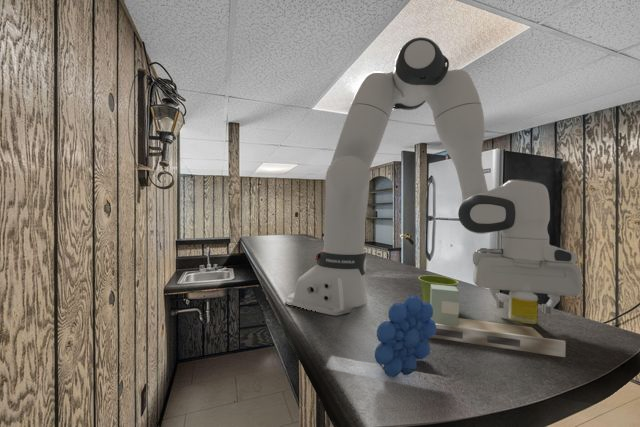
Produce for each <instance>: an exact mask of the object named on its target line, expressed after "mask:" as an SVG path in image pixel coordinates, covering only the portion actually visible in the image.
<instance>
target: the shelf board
mask: <svg viewBox="0 0 640 427" xmlns="http://www.w3.org/2000/svg"><path fill="white" fill-rule="evenodd" d="M435 324H436V323H435ZM431 339H439V340H445V341H454V342H459V343H467V344H471V345H472V344H473V345H479V346H485V347H486V346H487V347H492V348H494V347H495V348H499V349H508V350H512V351H513V350H514V351H519V352H520V351H521V352H527V353H533V354H541V355H548V356H552V357H553V356H555V357H561V358H566V349H567V348H566V347H567V345H566V344H567V343H566V342H567V341H565V340H563V339H562V340H561V339H556V338H548V337H547V338H546V337H543V335H542V334H540V332H538V331H537V330H536V329H535V328H533V327H532V326H524V325H519V324H518V325H516V324H509V323H501V322H494V321H493V322H492V321H483V320H476V319H468V318H460V317H458V326H451V325H444V324H436V333H435V335H434V336H433V337H431Z"/></svg>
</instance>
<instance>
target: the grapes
mask: <svg viewBox="0 0 640 427" xmlns="http://www.w3.org/2000/svg"><path fill="white" fill-rule="evenodd" d="M432 316H433V308H432V306H431V304H430V303H428V302H423V300H421V298H420V297H419V296H418V295H409V296H408V297H407V298H406V299H405V300H404V303H403V302H395V303H394V304H392V305H391V306H390V307H389V310H388V318H389V321H388V320H385V321H383V322H381V323H380V324H379V325H378V327H377V329H376V337H377V340H378V342H380V343H379V344H378V345H377V346H376V347H375V350H374V358H375V359H374V360H375V361H376V363H377V364H379V365H380V366H383V371H384V374H385V375H386V376H387V377H389V378H395V377H397V376H398V375H400V374H402V375H406V376H407V375H411V374H413V373H414V372H415V370H417V367H418V360H423V359H426V358H427V357H428V356H429V355H430V353H431V344H430V343H429V341H428V339H432V337H433V336H434V335H435V333H436V324H435V322H434V321H433V320H432V319H431V317H432Z"/></svg>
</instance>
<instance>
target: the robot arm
mask: <svg viewBox="0 0 640 427" xmlns="http://www.w3.org/2000/svg"><path fill="white" fill-rule="evenodd" d="M449 62H450V61H449V59H448V57H446V56H445V55H444V54H443V52H442V49H441V48H440V46H439V45H438V44H437V43H436V42H435V41H433V40H432V39H430V38H428V37H423V36H422V37H421V36H420V37H415V38H413V39H410V40H408V41H407V42H405V44H404V45H403V46H401V48H400V50H399V52H398V54H397V55H396V58H395V62H394V69H393V70H394V71H390V72H387V73H386V72H383V71H372V72H370V73H368V74H366V75H365V77H364V78H363V80H362V81H361V83H360V85H359V87H358V88H357V91H356V93H355V94H354V96H353V99H352V102H351V104H350V107H349V110H348V112H347V116H346V118H345V121H344V124H343V126H342V129H341V132H340V135H339V139H338V141H337V144H336V148H335V150H334V153H333V156H332V159H331V162H330V165H329V166H328V168H327V170H326V175H325V180H324V181H325V182H324V186H325V195H324V196H325V197H324V199H325V200H324V219H323V220H324V224H323V227H324V228H323V250H321V251H319V253H317V254H316V255H315V258H314V260H316V264H315V265H314V266H312V267H311V268H310V269H309V270H307V271H306V272H305V273H304V274H302V275H301V276H299V278H298V279H297V281H296V284H295V287H294V292H291V293H290V294H289V295H288V296H287V297H286V299H285V304H286V303H288V304H291V305H294V306H297V307H301V308H300V309H302V308H304V309H303V310H306V309H307V311H311V310H312V311H311V312H315V311H316V313H321V314H325V315H329V316H337V317H338V316H341V315H344V314H350V313H351V312H352V310H353V308H357V307H362V306H364V305H366V304H368V302H369V300H368V299H369V298H368V294H367V288H366V279H365V278H366V277H365V275H366V272H367V257H366V256H367V254H366V252H365V240H366V238H365V234H366V218H367V210H368V203H369V196H370V195H369V192H370V182H371V181H370V179H371V173H370V169H371V166H372V164H373V162H374V159H375V157H376V155H377V153H378V150H379V148H380V145H381V142H382V140H383V137H384V134H385V131H386V128H387V126H388V122H389V121H390V120H389V119H390V117H391V114H392V111H393V109H394V110H405V111H406V110H407V111H410V110H411V111H413V110H416V109H418V108H420V107H421V106H422V107H423V105H424V104H425V103H427V104H428V105H429V106H428V107H430V109H431V111H432V117H433V122H434V126H435V129H436V132H437V135H438V138H439V141H440V142H441V144H442V146H443V148H444V150H445V152H446V153H447V155H448V156H449V158H450V160H451V161H452V162H453V166H454V167H455V170H456V173H457V178H458V181H459V182H458V183H459V186H460V191H461V195H462V203H461V204H460V206H459V208H458V214H457V215H458V220H459V222H460V225H462V226H463V227H464V228H465V229H466V230H467V231H469V233H474V234H477V235H478V234H479V235H486V234H490V233H493V232H500V234H501V241H500V242H501V245H500V247H501V248H486V247H482V248H481V247H480V249H477V250H475V251H474V253H473V254H472V262H473V265H474V267H473V268H474V269H473V274H472V281H473V283H474V284H475V286H477V287H478V288H482V289H489V290H488V291H489V293H490V295H491V297H492V298H493V300H494V302H493V303H494V308H495V309H502V310H504V309H505V308H504V305H505V302H504V301H503V299H500V298H499V297H498V294H500V293H499V292H500V291H499V290H502V291H522V290H523V285H531V290H530V291H528V292H533V293H534V294H545V295H547V297H548V298H549V299H548V301H547V302H546V303H541V307H542V308H541V311H542V313H543V314H547V315H553V314H554V308H555V307H556V306H557V304H558V303H559V302H560V301H561V296H567V297H579V295H580V294H581V293H582V290H583V289H582V288H583V287H582V286H583V284H582V283H583V282H582V274H581V269H580V268H579V266H578V265H577V264H575V263H577V261H578V254H577V253H576V252H573V251H570V250H567V249H564V248H561V247H559V246H556V245H552V244H550V234H549V233H548V225H549V222H550V221H551V204H550V194H549V191H548V188H547V187H546V185H544V184H543V183H541V182H539V181H536V180H531V179H523V178H522V179H520V178H519V179H518V178H517V179H516V178H514V179H508V180H507V181H505V182H504V183H503V184H501V185H499V186H497V187H495V188H493V189H490V190H488V189H489V188H488V186H487V180H486V178H485V172H484V168H483V162H482V157H483V156H482V154H483V146H484V139H485V117H484V110H483V107H482V103H481V99H480V96H479V93H478V91H477V90H478V89H477V87H476V85H475V84H474V80H473V79H472V78H471V76H470V74H469V73H468V72H467V71H466V70H463V69H451V70H449V67H450V63H449ZM297 307H296V308H297Z"/></svg>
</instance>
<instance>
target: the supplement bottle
mask: <svg viewBox="0 0 640 427" xmlns="http://www.w3.org/2000/svg"><path fill="white" fill-rule="evenodd" d="M530 290H531V285H523V290H522V291H511V290H509V293H508V310H507V311H508V315H507V316H508V318H509V319H510V320H512V321H514V322H518V323H522V324H528V325H529V324H531V325H534V324H537V325H539V324H538V321H539V320H538V316H539V297H538V295H537V293H533V292H528V291H530Z"/></svg>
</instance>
